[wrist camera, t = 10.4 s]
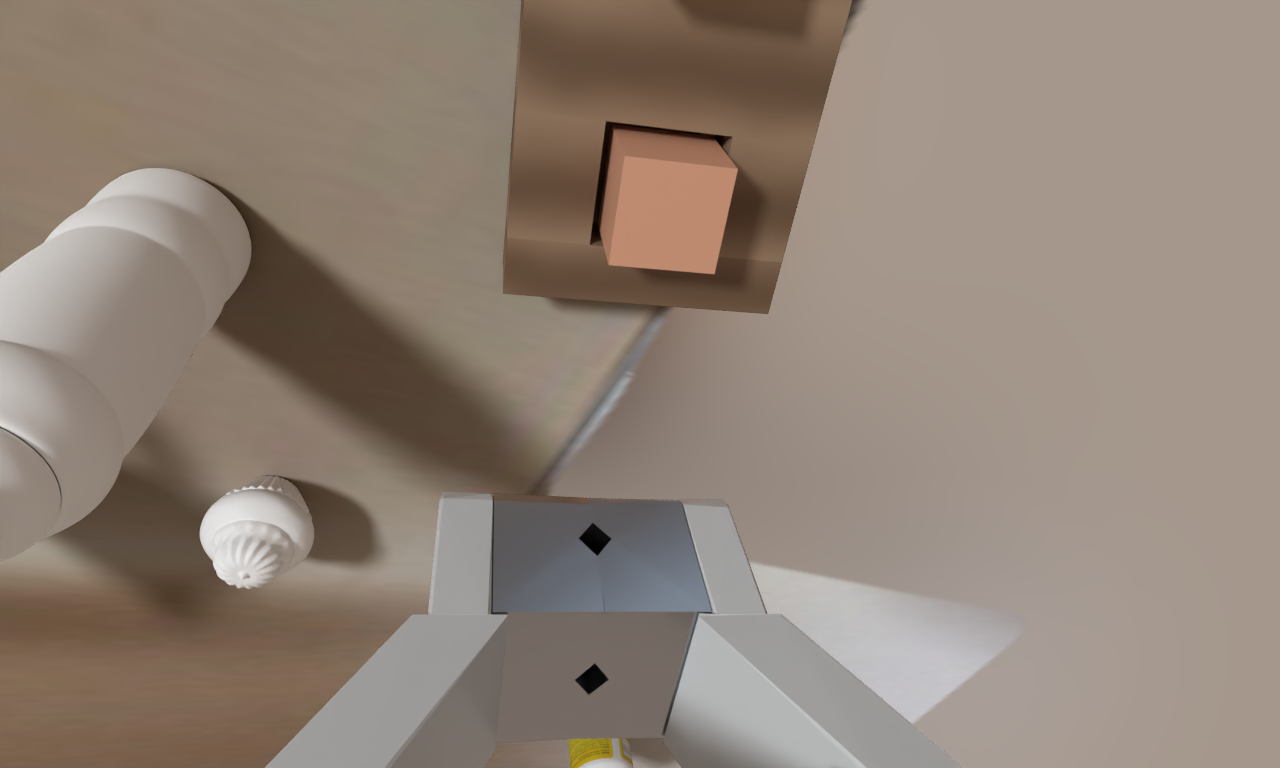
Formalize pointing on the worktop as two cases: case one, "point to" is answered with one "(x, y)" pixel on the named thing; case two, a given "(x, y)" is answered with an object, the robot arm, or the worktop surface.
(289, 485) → the muffin
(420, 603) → the worktop surface
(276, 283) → the worktop surface
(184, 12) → the worktop surface
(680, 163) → the terracotta key
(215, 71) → the worktop surface
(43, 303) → the water bottle
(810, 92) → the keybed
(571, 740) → the supplement bottle
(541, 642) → the robot arm
